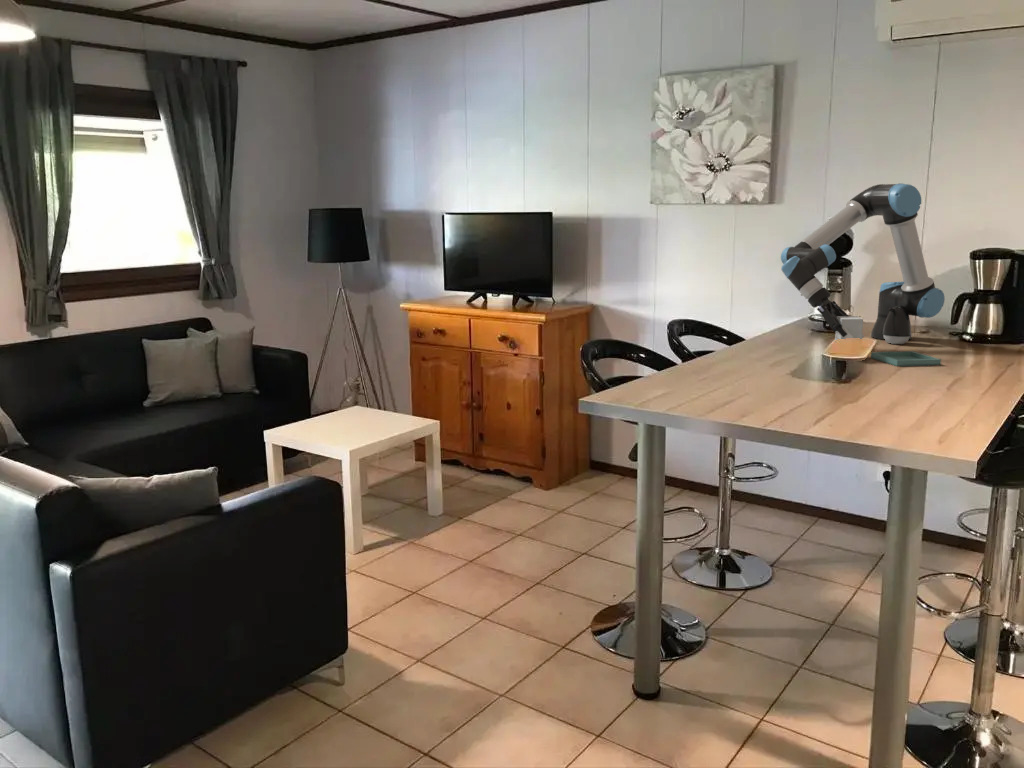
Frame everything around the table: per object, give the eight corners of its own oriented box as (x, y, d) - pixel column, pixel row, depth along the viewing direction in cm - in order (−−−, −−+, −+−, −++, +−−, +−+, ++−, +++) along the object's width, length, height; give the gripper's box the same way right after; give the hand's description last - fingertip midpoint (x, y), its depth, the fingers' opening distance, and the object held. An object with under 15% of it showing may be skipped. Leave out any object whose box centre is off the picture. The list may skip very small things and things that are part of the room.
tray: (870, 357, 298) (871, 352, 298) (912, 356, 300) (912, 351, 300) (896, 366, 283) (897, 360, 282) (940, 365, 285) (941, 359, 284)
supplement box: (854, 350, 302) (857, 315, 299) (860, 354, 295) (864, 318, 292) (833, 350, 303) (836, 315, 300) (839, 354, 295) (842, 318, 293)
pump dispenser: (875, 342, 331) (879, 304, 328) (894, 340, 336) (897, 303, 332) (896, 346, 322) (900, 307, 319) (915, 344, 327) (919, 305, 323)
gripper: (817, 297, 313) (858, 343, 307) (796, 303, 296) (838, 351, 289) (833, 283, 308) (874, 330, 302) (812, 289, 291) (855, 338, 285)
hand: (856, 340), depth 296 cm, fingers closed on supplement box, 10 cm apart
